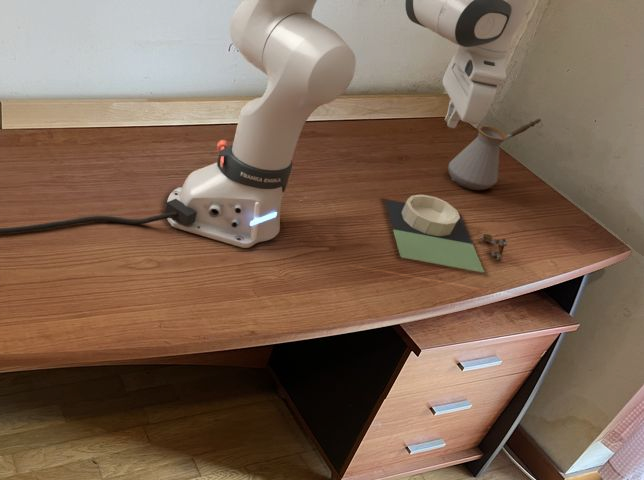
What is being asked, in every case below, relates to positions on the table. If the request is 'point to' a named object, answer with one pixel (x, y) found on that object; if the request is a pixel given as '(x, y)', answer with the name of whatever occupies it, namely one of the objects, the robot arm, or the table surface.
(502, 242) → the wooden post with brackets
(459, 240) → the desk mat
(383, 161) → the table surface
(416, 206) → the bowl
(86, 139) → the table surface
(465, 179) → the coffee pot
